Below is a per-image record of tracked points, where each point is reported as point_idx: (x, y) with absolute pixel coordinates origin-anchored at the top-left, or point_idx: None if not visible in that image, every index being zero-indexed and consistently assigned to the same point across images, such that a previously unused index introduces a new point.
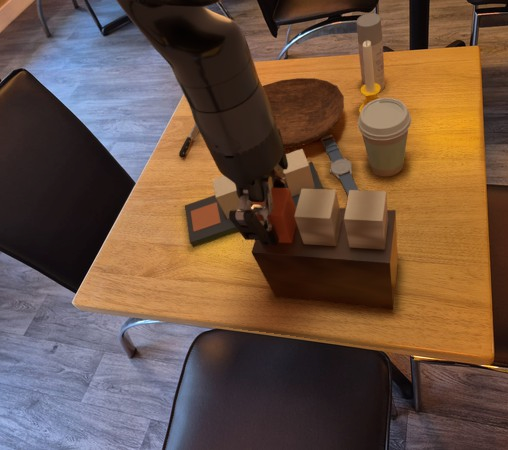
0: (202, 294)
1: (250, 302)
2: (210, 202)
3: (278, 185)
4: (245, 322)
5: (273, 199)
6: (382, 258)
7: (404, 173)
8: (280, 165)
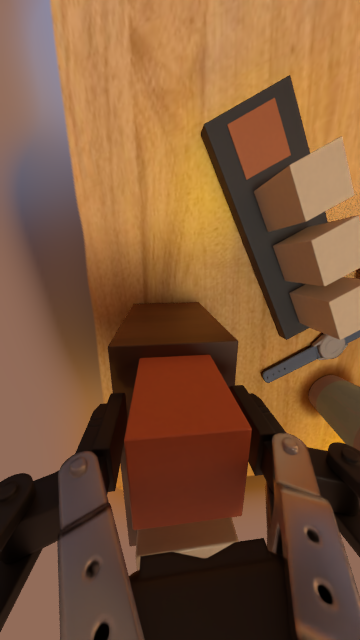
0: (116, 187)
1: (119, 271)
2: (291, 140)
3: (261, 463)
4: (89, 273)
5: (196, 493)
6: (135, 538)
7: (309, 410)
8: (335, 509)
